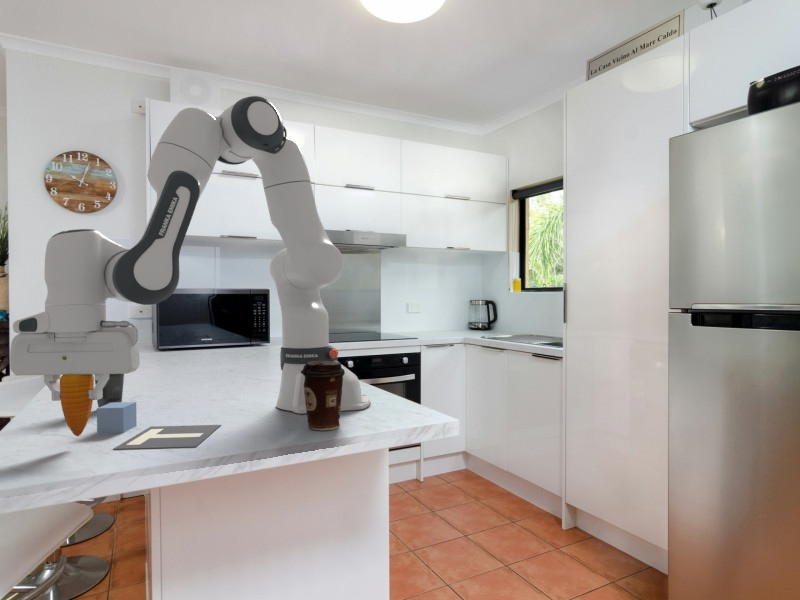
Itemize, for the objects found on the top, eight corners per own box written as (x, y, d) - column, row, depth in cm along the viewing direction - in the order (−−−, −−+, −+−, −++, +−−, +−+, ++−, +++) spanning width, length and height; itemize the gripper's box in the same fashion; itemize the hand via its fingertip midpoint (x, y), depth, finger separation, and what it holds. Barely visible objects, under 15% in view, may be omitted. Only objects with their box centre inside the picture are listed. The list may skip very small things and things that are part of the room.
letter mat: (221, 425, 96) (221, 424, 96) (196, 447, 82) (196, 446, 82) (150, 427, 95) (150, 426, 95) (113, 449, 81) (113, 448, 81)
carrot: (60, 442, 79) (59, 353, 79) (59, 435, 83) (58, 351, 83) (95, 436, 82) (94, 351, 82) (93, 430, 86) (92, 348, 86)
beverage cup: (94, 407, 113) (93, 324, 113) (129, 404, 116) (128, 323, 116) (88, 414, 106) (87, 326, 106) (126, 410, 109) (124, 325, 109)
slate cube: (136, 426, 97) (136, 402, 97) (123, 433, 92) (123, 407, 92) (111, 426, 96) (111, 402, 96) (97, 434, 91) (96, 408, 91)
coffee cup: (302, 434, 89) (302, 366, 89) (299, 423, 97) (298, 360, 97) (348, 430, 92) (347, 364, 92) (341, 419, 100) (340, 358, 100)
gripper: (145, 319, 87) (146, 394, 87) (29, 321, 85) (30, 397, 85) (128, 321, 80) (129, 402, 80) (2, 322, 79) (3, 405, 79)
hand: (77, 399), depth 83 cm, fingers closed on carrot, 5 cm apart
